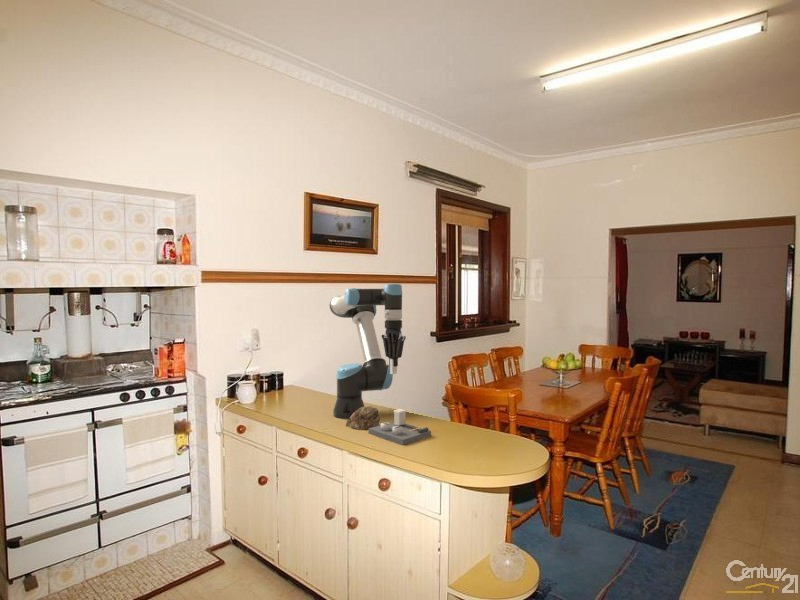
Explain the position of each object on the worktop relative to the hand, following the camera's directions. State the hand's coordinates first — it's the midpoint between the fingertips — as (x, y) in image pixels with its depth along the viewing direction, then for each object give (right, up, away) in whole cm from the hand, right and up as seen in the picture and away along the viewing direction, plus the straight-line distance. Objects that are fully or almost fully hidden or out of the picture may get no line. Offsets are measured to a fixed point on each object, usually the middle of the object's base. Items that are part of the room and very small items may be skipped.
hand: (393, 373), depth 207 cm
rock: (-14, -23, -2) cm, 27 cm away
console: (+3, -23, -14) cm, 27 cm away
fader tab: (+3, -20, -7) cm, 21 cm away
